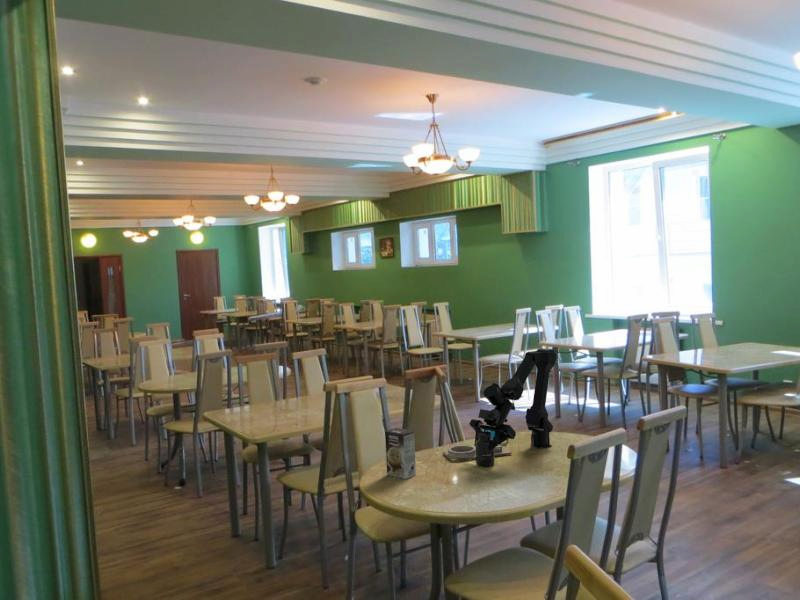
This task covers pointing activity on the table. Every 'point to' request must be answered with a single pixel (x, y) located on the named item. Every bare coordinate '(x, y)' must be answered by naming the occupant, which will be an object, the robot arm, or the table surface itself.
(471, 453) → the socket board
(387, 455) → the coffee box
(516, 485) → the table surface
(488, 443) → the supplement bottle
